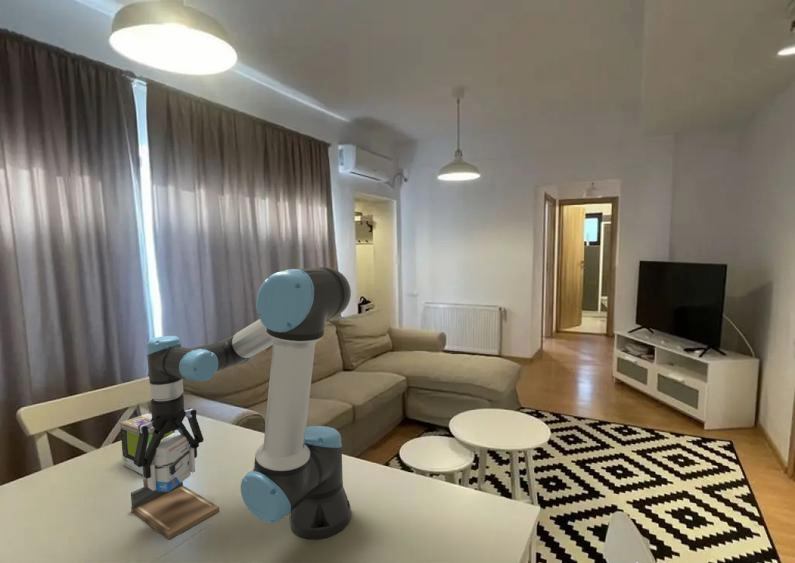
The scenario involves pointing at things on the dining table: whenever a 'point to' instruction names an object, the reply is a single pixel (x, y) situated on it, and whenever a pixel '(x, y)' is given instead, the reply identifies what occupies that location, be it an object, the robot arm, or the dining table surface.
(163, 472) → the ink box
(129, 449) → the tea box
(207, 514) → the header board
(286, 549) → the dining table surface
